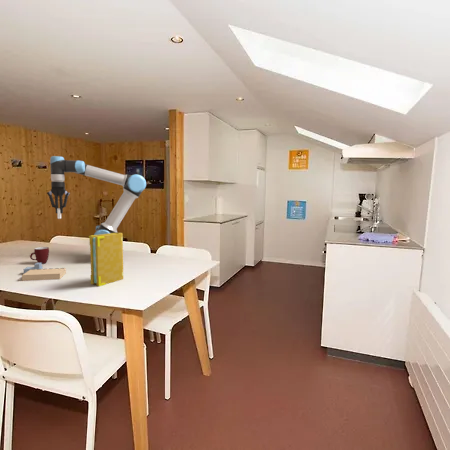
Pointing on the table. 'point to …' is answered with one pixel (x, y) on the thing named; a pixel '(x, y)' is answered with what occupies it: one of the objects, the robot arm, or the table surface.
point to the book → (106, 258)
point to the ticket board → (44, 274)
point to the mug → (41, 254)
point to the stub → (36, 266)
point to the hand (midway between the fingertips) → (59, 218)
